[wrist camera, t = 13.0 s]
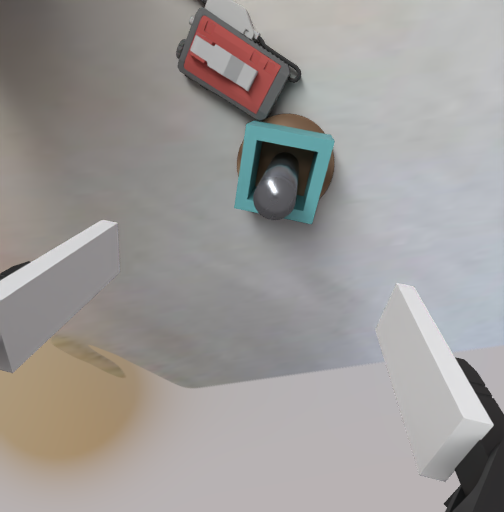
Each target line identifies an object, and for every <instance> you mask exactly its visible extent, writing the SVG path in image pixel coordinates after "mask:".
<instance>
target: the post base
mask: <svg viewBox="0 0 504 512" xmlns="http://www.w3.org/2000/svg"><path fill="white" fill-rule="evenodd" d="M261 122H266V123H271V124H276V125H282V126H287V127H292V128H297V129H302V130H308V131H313V132H318V133H323V134H325V133H324V132H323V130H322V129H321V128H320V127H319V126H318V125H317V124H315V123H314V122H313V121H311V120H310V119H308V118H305V117H303V116H300V115H296V114H279V115H274V116H271V117H269V118H267V119H265V120H263V121H261ZM243 143H244V140H243V142H242V144H241V146H240V149H239V152H238V157H237V172H238V177H239V171H240V164H241V157H242V150H243ZM282 152H288V153H291V154H293V155H294V156H295V157H296V158H297V160H298V163H299V174H298V184H297V194H296V195H300V196H304V193H305V189H306V185H307V181H308V177H309V173H310V168H311V164H312V160H313V156H314V152H315V151H311V150H306V149H301V148H295V147H290V146H285V145H280V144H275V143H270V142H265V141H262V147H261V153H260V159H259V165H258V170H257V176H256V182H255V186H256V187H257V186H258V184H259V182H260V180H261V179H262V177H263V175H264V173H265V171H266V170H267V168H268V166H269V164H270V162H271V161H272V159H273V157H274V156H276V155H277V154H279V153H282ZM333 172H334V154H333V150H332V153H331V157H330V160H329V164H328V167H327V171H326V175H325V178H324V182H323V186H322V189H321V193H320V197H319V199H320V198H321V197H322V195H323V194H324V193H325V191H326V190H327V188H328V186H329V184H330V182H331V179H332V176H333Z"/></svg>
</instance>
